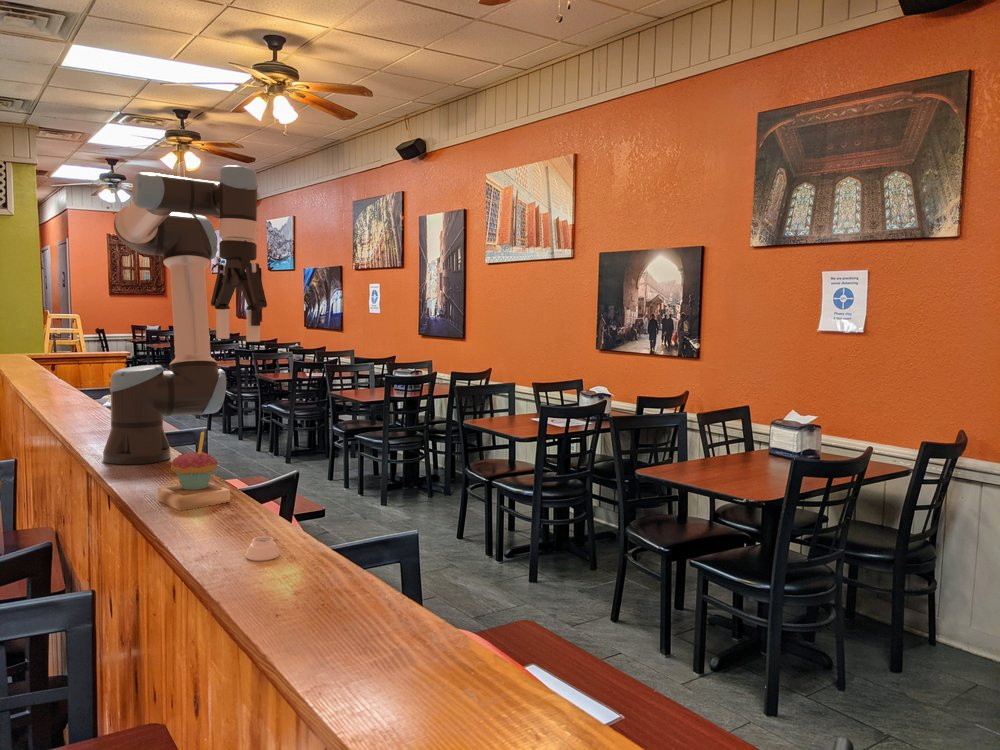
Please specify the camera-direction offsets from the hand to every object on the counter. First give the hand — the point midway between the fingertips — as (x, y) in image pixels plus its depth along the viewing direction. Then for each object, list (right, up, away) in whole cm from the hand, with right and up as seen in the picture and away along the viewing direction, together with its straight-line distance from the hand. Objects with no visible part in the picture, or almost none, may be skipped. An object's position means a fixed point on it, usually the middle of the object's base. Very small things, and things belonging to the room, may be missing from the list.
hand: (237, 340), depth 157 cm
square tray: (-4, -33, -12) cm, 35 cm away
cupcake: (-4, -30, -12) cm, 33 cm away
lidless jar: (+20, -36, -43) cm, 60 cm away
